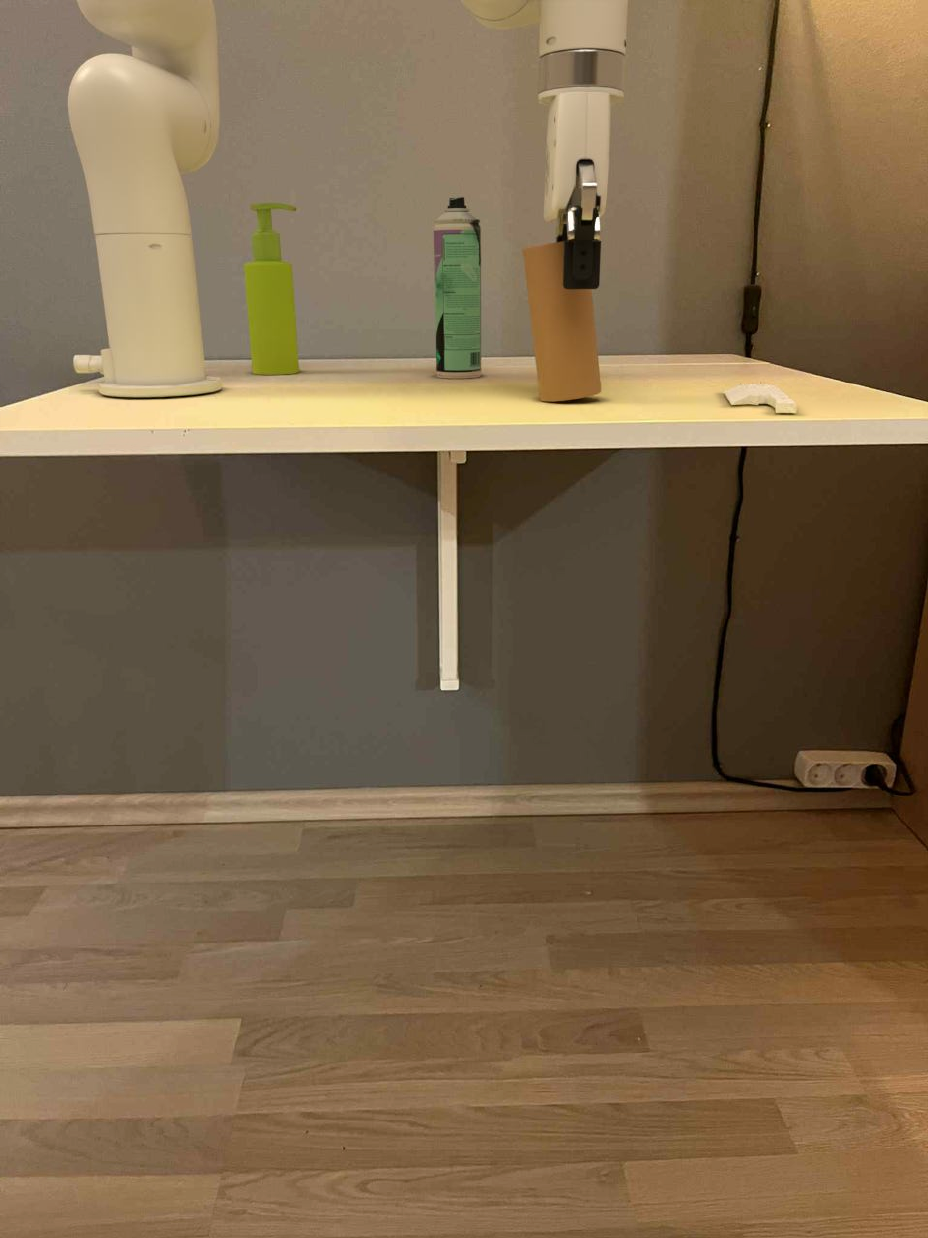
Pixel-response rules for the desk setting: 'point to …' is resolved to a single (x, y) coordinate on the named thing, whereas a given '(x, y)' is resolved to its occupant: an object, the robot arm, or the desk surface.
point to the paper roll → (560, 328)
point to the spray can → (457, 292)
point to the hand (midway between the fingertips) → (574, 288)
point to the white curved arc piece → (761, 396)
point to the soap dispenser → (270, 300)
